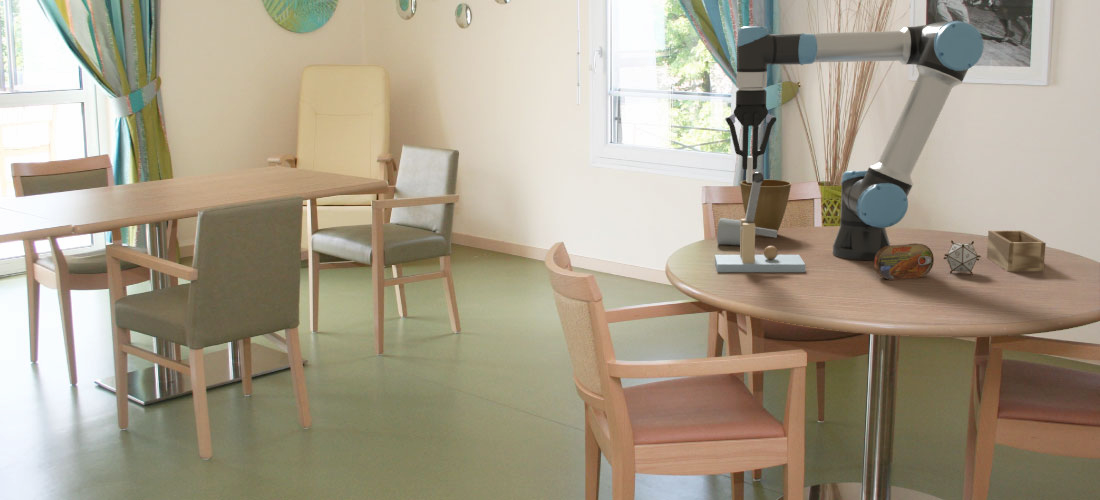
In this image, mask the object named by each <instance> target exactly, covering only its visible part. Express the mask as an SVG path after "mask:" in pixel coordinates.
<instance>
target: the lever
mask: <svg viewBox="0 0 1100 500" xmlns="http://www.w3.org/2000/svg"><path fill="white" fill-rule="evenodd" d="M764 179H765V176H764V174H763V173H762V172H760V171H756V172H753V173H752V186H751V191H750V197H749V202H748V207H747V212H746V215H745V218H744V219H745V222H744V223H754V218H755V213H756V208H757V203H758V197H759V192H760V187H761V183H762V182H763V181H764ZM741 230H742V232H743V225H742V227H741ZM778 233H779V230H778V231H777V230H772V229H766V228H760V227H755V234H757V235H763V236H769V237H768V238H776V239H777V237H778Z"/></svg>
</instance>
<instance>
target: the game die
mask: <svg viewBox="0 0 1100 500" xmlns="http://www.w3.org/2000/svg"><path fill="white" fill-rule="evenodd" d="M950 242H951V246H950V248H949V250H948V252H947V253H945V254H944V257H943V259H944V260H946V261H947V264H948V265H949V268H950V271H949V274H952V273H953V272H963V273H965V272H966V273H967V272H968V273H970V275H973V274H974V272H973V269H974V266H975V264H976V263H977V261H980V258H981V257H982V256H981V255H978V254H977V252H976V249H975V247H974V244H975V240H972V241H971V242H969V243H968V242H967V243H966V242H965V243H964V242H954V241H953V240H950Z"/></svg>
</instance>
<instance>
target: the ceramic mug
mask: <svg viewBox="0 0 1100 500" xmlns="http://www.w3.org/2000/svg"><path fill="white" fill-rule="evenodd" d="M740 229H741V219H731V218H724V217H721V218H719V220H718V223H717V229H716V230H717V233H716V242H717V244H718V245H721V246H737V247H739V246H740Z"/></svg>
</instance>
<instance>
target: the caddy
mask: <svg viewBox="0 0 1100 500" xmlns="http://www.w3.org/2000/svg"><path fill="white" fill-rule="evenodd" d="M987 234H988V235H987V249H986V258H987V259H988V260H990V261H992V262H993V263H995V264H996V265H997V266H999V267H1000V268H1001V269H1003V270H1005V271H1007V272H1044V271H1045V270H1044V269H1045V268H1044V267H1045V266H1044V265H1045V255H1046V244H1047V243H1046V242H1044V241H1043V240H1041V239H1039V238H1037V237H1035V236H1033V235H1032V234H1030V233H1028V232H1026V231H1025V230H988V233H987Z"/></svg>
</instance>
